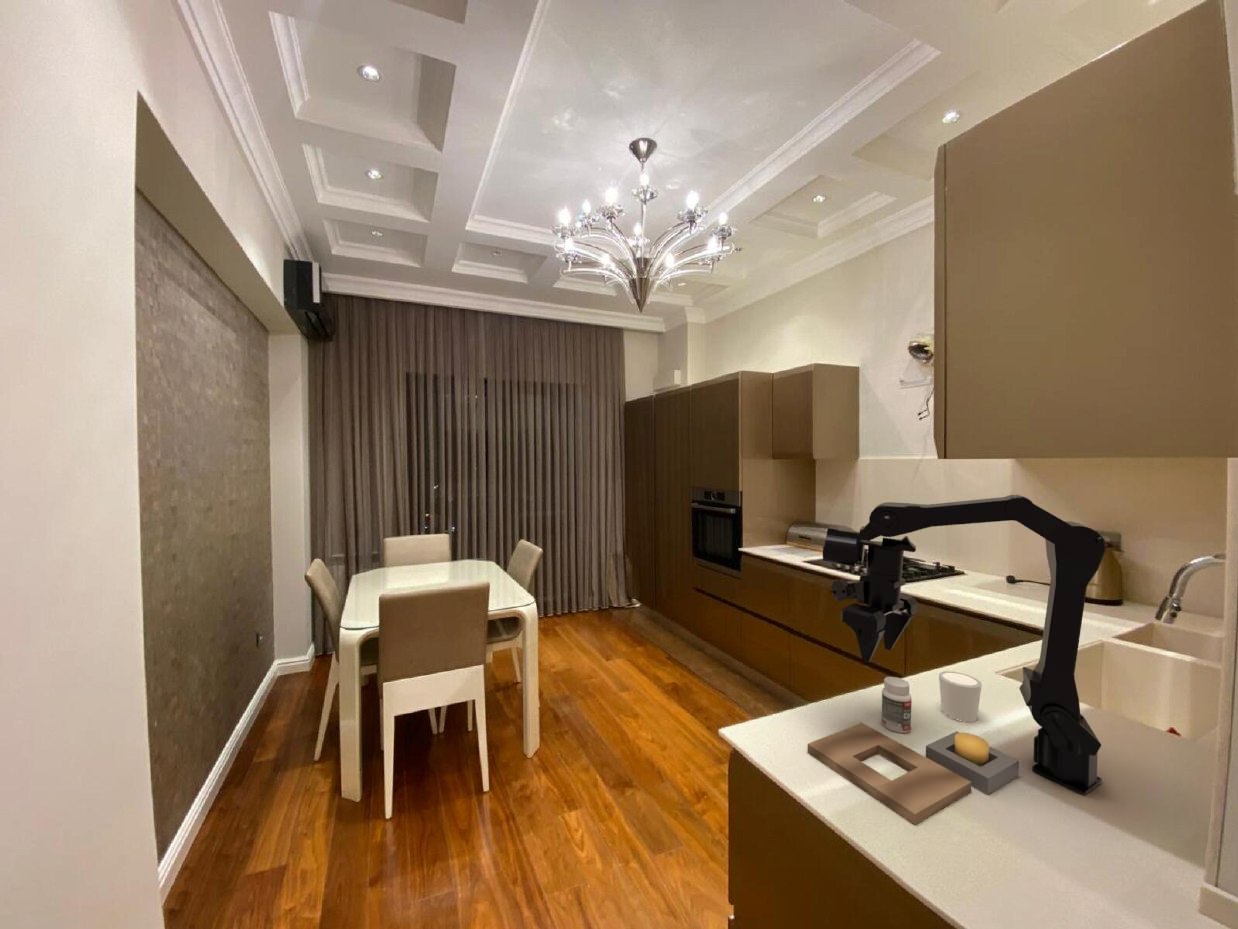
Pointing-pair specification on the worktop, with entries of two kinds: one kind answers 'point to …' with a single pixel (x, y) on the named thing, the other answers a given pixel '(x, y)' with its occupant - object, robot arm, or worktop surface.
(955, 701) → the white cup
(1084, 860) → the worktop surface
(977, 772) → the button collar
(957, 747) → the button
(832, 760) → the brown wooden rectangular frame
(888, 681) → the pill bottle
